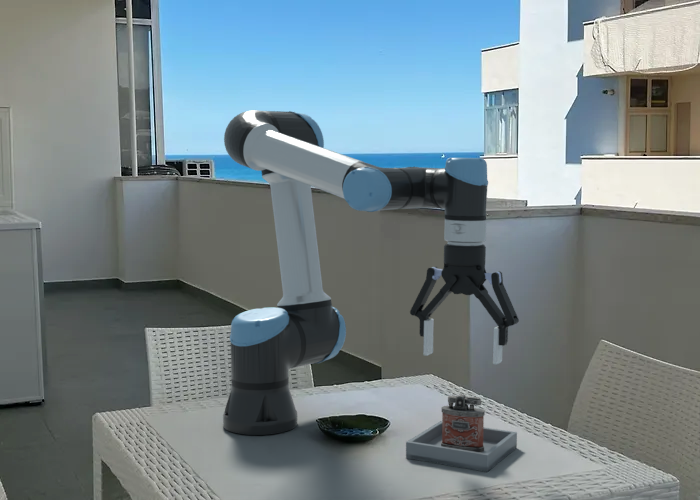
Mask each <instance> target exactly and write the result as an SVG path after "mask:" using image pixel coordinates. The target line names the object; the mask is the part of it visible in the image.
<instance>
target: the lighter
mask: <svg viewBox="0 0 700 500" xmlns="http://www.w3.org/2000/svg"><path fill="white" fill-rule="evenodd" d="M447 403H448V405H444V406H443V405H442V406H441V413H442V415H441V416H442V420H441V421H442V442H441V446H443V447H449V448H455V449H462V450H468V451H474V452H483V451H484V445H483V427H484V423H485V422H484V421H485V420H484V419H485V418H484V417H485V409H483V408H476V407H475V406H481V405H482V398H481V397H476V396H468V397H467V396H466V395H464V394H462V393H461V394H459V395H458V396H456V395H448V396H447Z"/></svg>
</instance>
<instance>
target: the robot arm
mask: <svg viewBox="0 0 700 500" xmlns="http://www.w3.org/2000/svg"><path fill="white" fill-rule="evenodd" d="M223 141H224V147H225V150H226V153H227V154H228V156H229V157H230V158H231V159H232V160H233V162H235V163H237V164H239V165H241V166H243V167H246V168H249V169H251V170H254V171H258V172H259V171H261V178H262V179H263V180H264V181H266V182H267V183H268V184H269V187H270V193H271V194H270V195H271V203H272V211H273V218H274V219H273V220H274V229H275V237H276V245H277V254H278V260H279V261H278V262H279V263H278V264H279V271H280V272H279V273H280V277H281V287H282V288H281V289H282V297H281V298H280V300H279V301H278V302H277V304H276V306H277V307H274V306H273V307H267V306H266V307H262V308H259V307H258V308H252V309H249V310H246V311H243V312H240V313H238V314H237V315H235V317H234V318H232V320H231V324H230V335H229V342H230V371H231V373H230V374H231V375H230V376H231V378H230V379H231V380H230V381H231V384H230V385H231V388H230V392H229V395H228V399H227V402H226V405H225V408H224V411H223V415H222V423H223V424H222V427H223V428H224V429H225V430H226V431H228V432H231V433H235V434H240V435H247V436H248V435H249V436H262V435H263V436H266V435H273V434H274V435H275V434H281V433H285V432H288V431H291V430H293V429H295V428H296V427H297V426H298V412H297V409H296V406H295V402H294V399H293V396H292V393H291V390H290V384H289V383H290V382H289V377H290V375H289V373H290V372H289V371H290V370H291V369H294V368H295V369H296V368H299V367H303V366H308V365H311V364H321V363H323V362H325V361H328V360H330V359H333V358H334V357H336V356H337V355H338V354H339V352H340V351H341V350H342V348H343V346H344V345H345V341H346V335H347V328H346V327H347V326H346V322H345V318H344V316H343V315H342V314H340V313H341V311H340V310H339V309H338V308H337V307H334V306H333V303H332V298H331V297H332V296H329V294H327V293H326V292H325V291H324V288H323V287H324V286H323V279H322V272H321V263H320V255H319V247H318V245H319V244H318V238H317V229H316V221H315V211H314V204H313V195H312V194H313V193H312V187H313V188H314V189H315V188H316V189H318V190H319V191H323V192H326V193H328V194H331V195H334V196H336V197H339V198H341V199H344V200H345V202H346V203H347V204H348V205H349V207H350V208H352V209H353V210H355V211H358V212H360V211H361V212H368V213H369V212H370V213H373V212H379V211H391V210H406V209H408V210H411V209H439V210H444V228H443V229H444V234H443V237H444V238H443V239H444V242H445V241H446V242H447V243H445V244H444V245H443V268H439V267H438V266H432V267H428V268H427V270H426V277H425V281H424V283H423V285H422V287H421V288H420V291H419V293H418V294H417V297H416V298H415V300H414V303H413V305H412V307H411V308H410V311H409V313H410V315H411V316H412V317H413V316H414V317H416V318H418V319H419V336H420V337H423V353H422V355H423V356H430V355H431V354H433V353H434V328H435V327H434V321H435V320H434V318H431V317H432V315H433V314H434V313H435V311H436V310H437V309H438V308H439V307H440V306H441V304H443V302H444V301H445V300H446V299H447V298H448V296H449V295H450V294H452V293H453V294H454V295H461V294H462V295H464V296H471V295H474V297H475V298H476V299H478V301H479V302H480V303H481V305H482V306H483V307H484V308H485V310H486V311H487V313H488V314H489V316H490V317H491V318H492V320H493V321H494V323H495V324H496V325H497V326H495V327H494V328H493V342H492V343H493V347H492V348H493V350H492V354H493V355H492V364H493V365H499V364H500V363H502V362H503V346H507V344H508V341H509V340H508V339H509V338H508V337H509V336H508V335H509V328H510V327H512V326H514V325H516V324H518V323H519V321H520V320H519V317H518V315H517V312H516V310H515V308H514V306H513V303H512V300H511V299H510V296H509V295H508V292H507V290H506V287H505V285H504V278H503V272H502V271H500V270H498V271H495V272H487V270H486V255H487V254H486V251H487V247H486V245H485V244H483V243H485V242H486V240H487V197H488V185H489V181H488V163H487V161H486V159H484V158H482V157H449V158H447V159H446V161H445V166H444V167H442V168H441V167H438V168H437V167H420V166H419V167H418V166H405V167H380V166H377V165H374V164H371V163H368V162H365V161H363V160H360V159H356V158H355V157H351V156H348V155H345V154H342V153H339V152H336V151H333V150H332V149H328V148H326V147H325V146H324V145H325V141H324V135H323V131H322V129H321V128H320V126H319V124H318V122H316V121H315V119H313V118H312V117H311V116H309V115H308V114H306V113H300V112H296V111H291V110H289V111H282V110H281V111H275V110H256V109H255V110H254V109H253V110H247V111H246V110H245V111H241V113H239V114H237V115H236V116H234V117H233V118H232V119H231V120H230V121H229V123H228V124H227V125H226V128H225V131H224V137H223ZM441 277H442V280H443V281H444V283H445V284H444V285H443V286H442V287H441V288H440V289H439V291H438V292H437V294H436V295H435V296H434V297H433V298H432V300H431V301H430V302H429V303H428V304H427V305H426V303H427V301H428V299H429V297H430V295H431V292H433V289H434V287H435V286H436V283H437V280H440V278H441ZM486 281H488V283H489V284H490V285H491V286H492V290H493V292H494V295H495V297H496V298H497V299H496V300H497V301H498V303H499V307H498V305H497V303H496V302H495V301H494V299H493V298H492V296H491V295H490V294H489V291H488V290H487V288H486V286H485V285H484V283H485V282H486ZM425 305H426V307H424V306H425ZM500 308H501V309H500Z"/></svg>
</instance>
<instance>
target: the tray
mask: <svg viewBox="0 0 700 500" xmlns="http://www.w3.org/2000/svg"><path fill="white" fill-rule="evenodd" d="M441 442H442V420H440V421H438V422H436V423H434V424H433V425H431V426H430V427H428V428H427V429H425V430H423V431H422V432H420V433H418V434H417V435H415V436H414V437H412V438H410V439H409V440H408V441H407V440H406V441H405V459H409V460H414V461H420V462H425V463H426V462H427V463H432V464H439V465H445V466H450V467H456V468H460V469H461V468H463V469H468V470H473V471H478V472H479V471H480V472H484V473H485V472H486V473H488V472H489V471H490V470H491V469H493V468H494V467H496V466H497V464H499V463H500V462H502V461H503V460H504V459H505V458H506V457H507V456H508V455H510V454H511V453H513V451H515V450H516V449H517V446H518V432H517V431H510V430H504V429H498V428H490V427H485V426H483V445H484V451H483V452H474V451H468V450H462V449H455V448H449V447H443V446H441Z"/></svg>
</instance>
